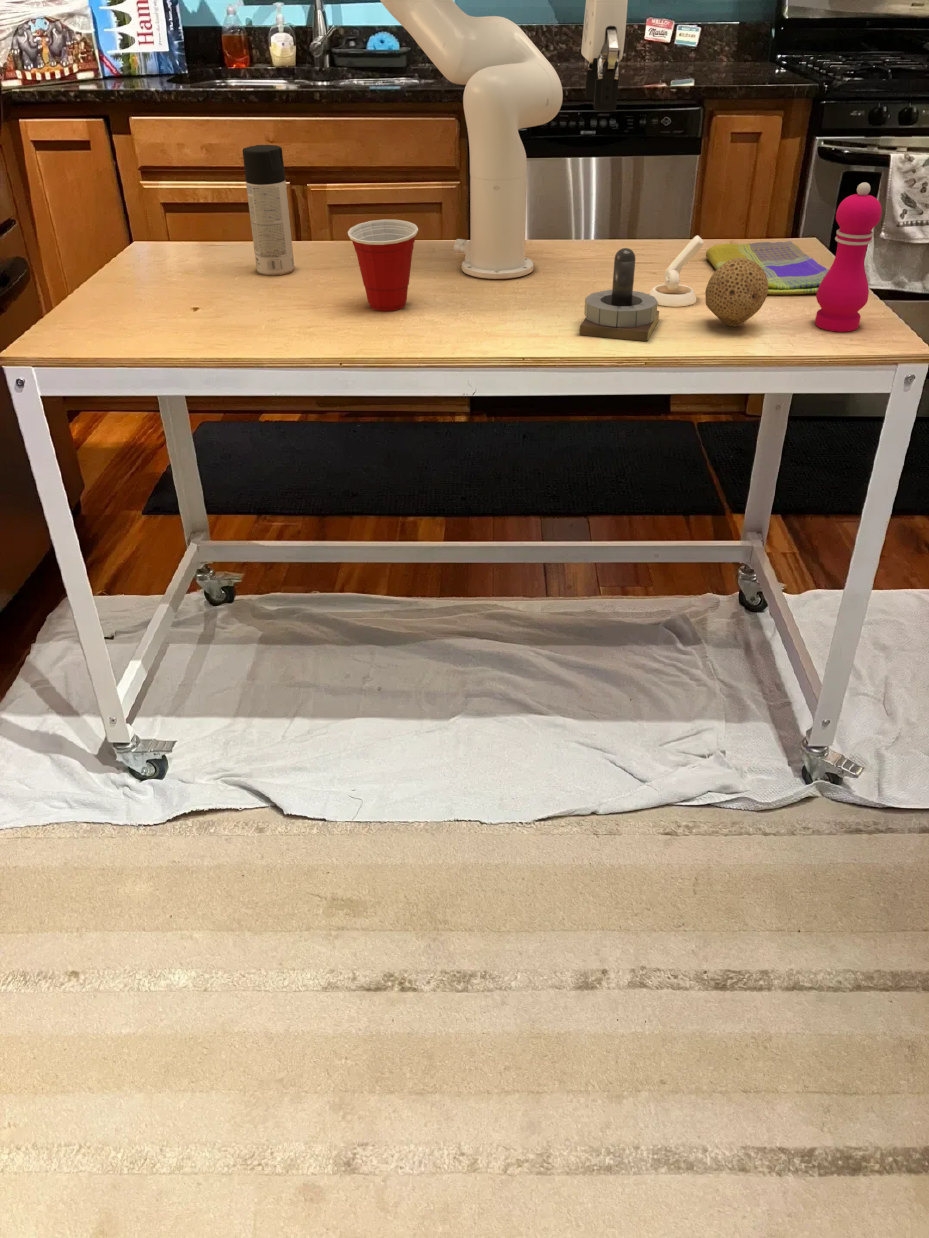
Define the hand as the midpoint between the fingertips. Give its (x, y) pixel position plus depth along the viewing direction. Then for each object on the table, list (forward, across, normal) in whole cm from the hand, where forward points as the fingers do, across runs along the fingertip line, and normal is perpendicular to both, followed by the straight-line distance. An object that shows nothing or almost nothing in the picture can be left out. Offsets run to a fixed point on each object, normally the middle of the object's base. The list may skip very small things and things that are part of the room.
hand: (599, 105), depth 150 cm
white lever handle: (+28, +4, +13) cm, 31 cm away
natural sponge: (+27, +18, +20) cm, 38 cm away
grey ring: (+26, +16, +3) cm, 31 cm away
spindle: (+28, +17, +3) cm, 33 cm away
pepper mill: (+27, +18, +35) cm, 48 cm away
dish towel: (+28, -9, +33) cm, 44 cm away
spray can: (+29, -17, -53) cm, 62 cm away
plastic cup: (+28, +5, -32) cm, 43 cm away
